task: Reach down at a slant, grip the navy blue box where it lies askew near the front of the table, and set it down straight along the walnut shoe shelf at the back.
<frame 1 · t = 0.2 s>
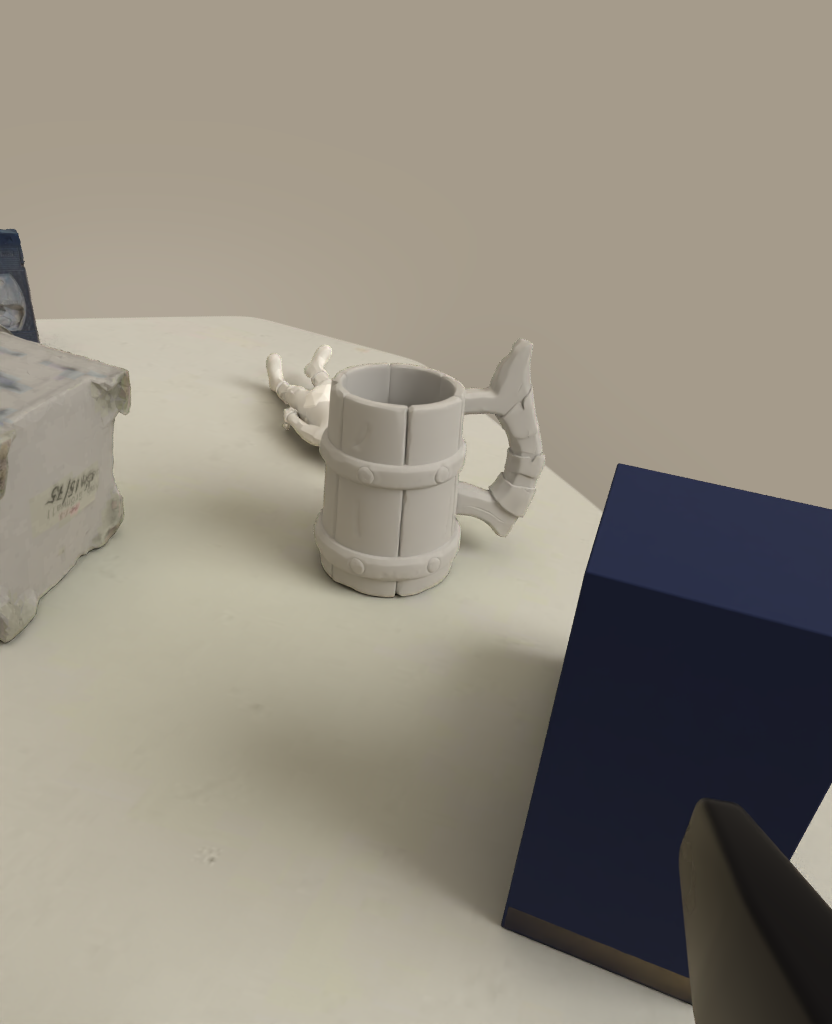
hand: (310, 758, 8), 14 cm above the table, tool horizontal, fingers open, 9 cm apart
figurine: (327, 432, 53), on the table
mug: (422, 559, 39), on the table
navy blue box: (624, 795, 26), on the table
incense holder: (24, 575, 35), on the table
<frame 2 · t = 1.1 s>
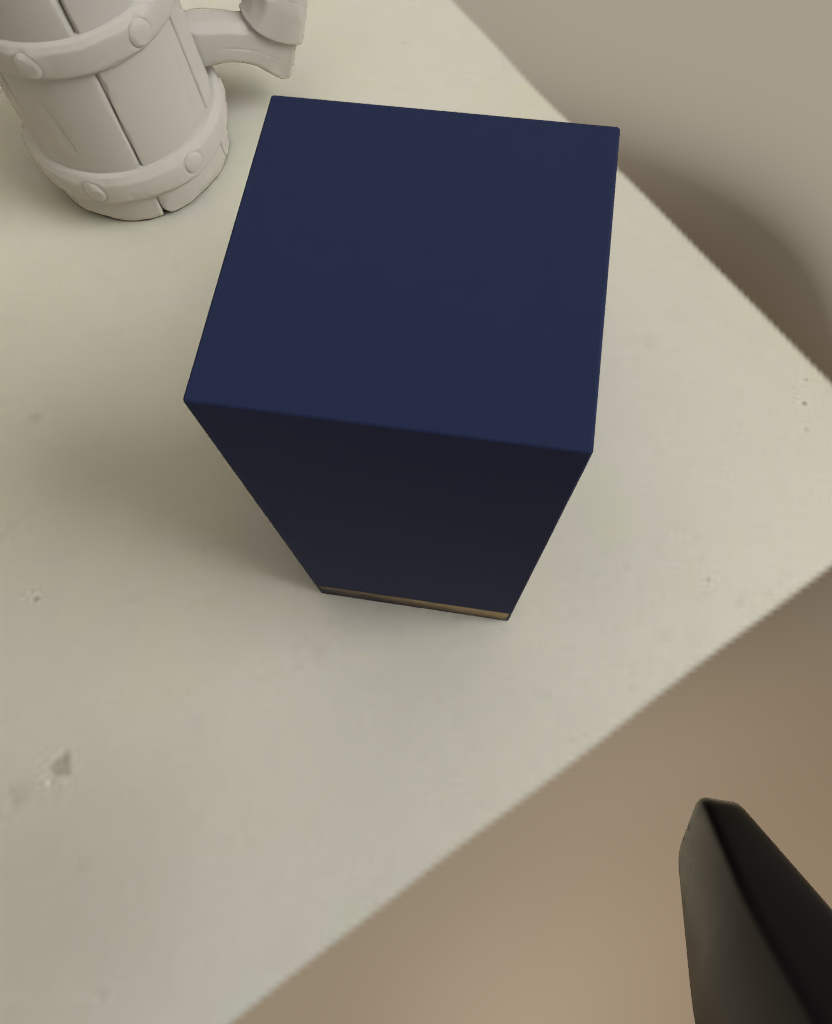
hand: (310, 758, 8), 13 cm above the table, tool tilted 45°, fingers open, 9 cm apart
mug: (192, 138, 29), on the table
navy blue box: (443, 422, 25), on the table
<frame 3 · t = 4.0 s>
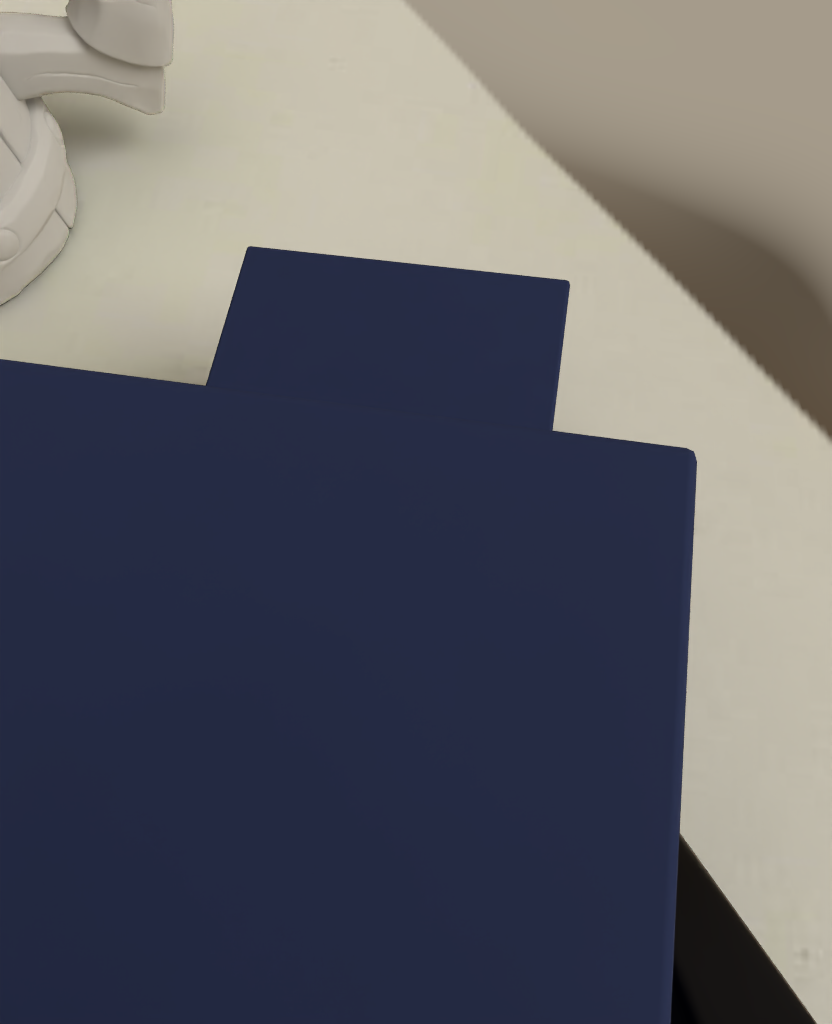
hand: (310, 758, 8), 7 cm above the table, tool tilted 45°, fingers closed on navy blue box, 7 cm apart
mug: (28, 198, 20), on the table
navy blue box: (368, 656, 16), on the table, touching gripper
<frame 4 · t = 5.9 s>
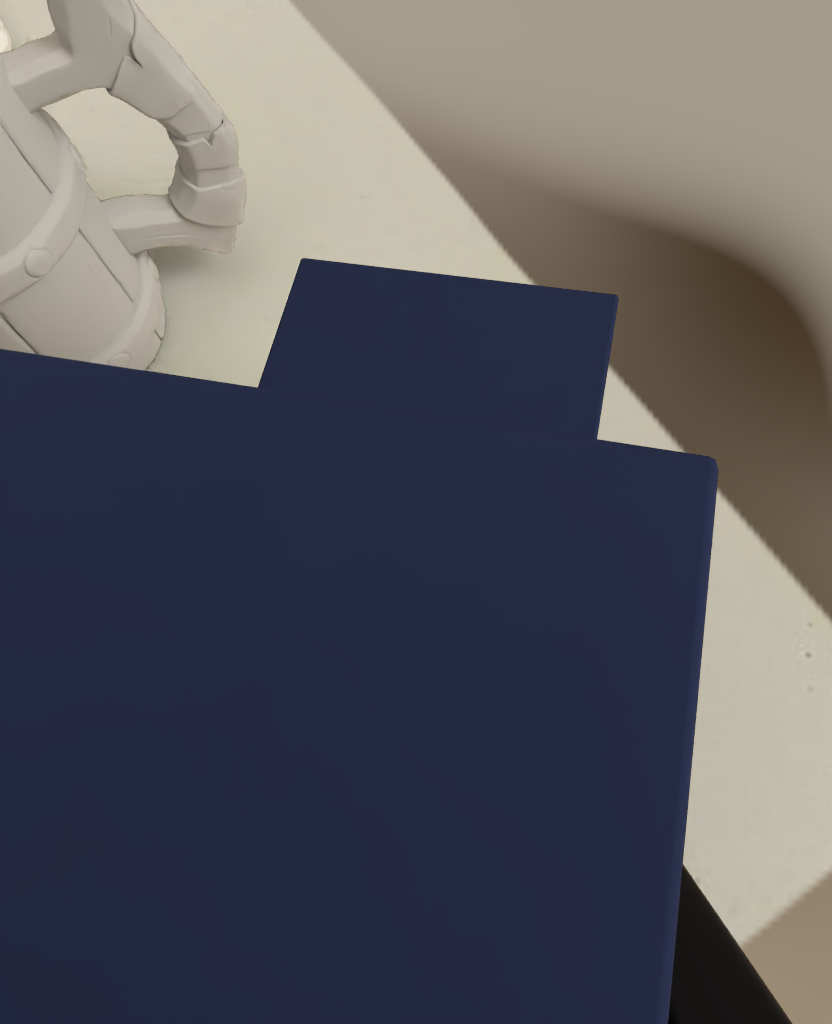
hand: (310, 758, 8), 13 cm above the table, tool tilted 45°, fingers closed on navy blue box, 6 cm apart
mug: (126, 312, 26), on the table
navy blue box: (406, 664, 16), point 6 cm above the table, touching gripper
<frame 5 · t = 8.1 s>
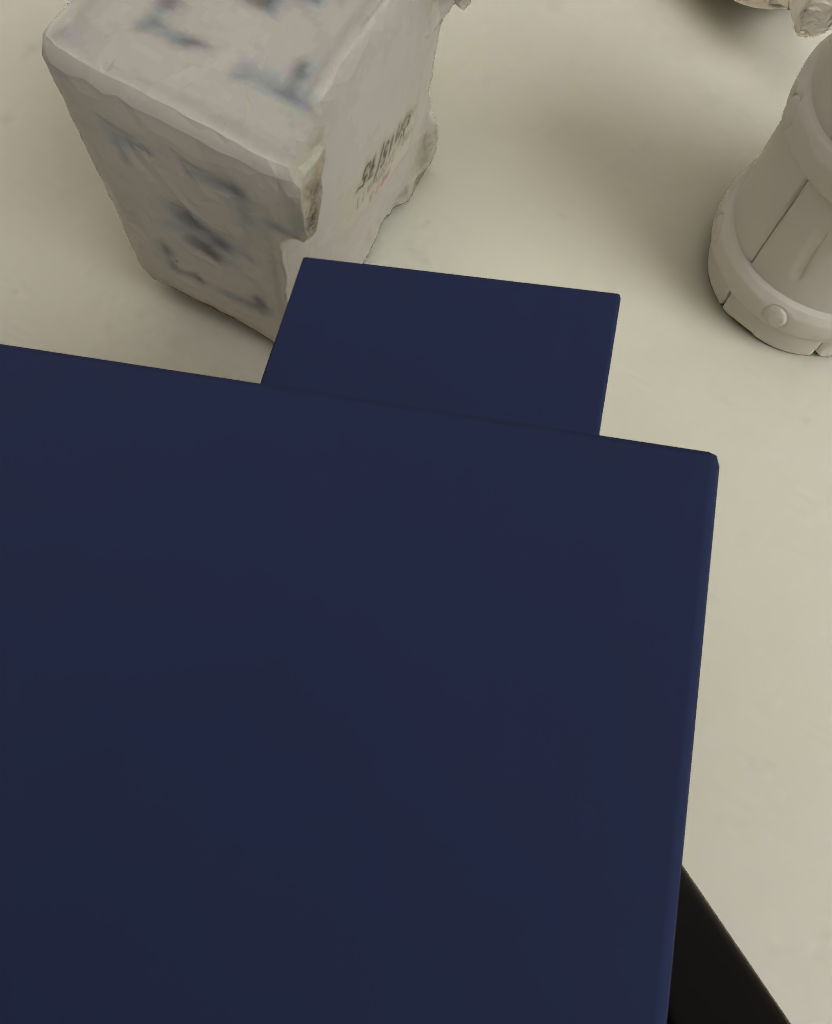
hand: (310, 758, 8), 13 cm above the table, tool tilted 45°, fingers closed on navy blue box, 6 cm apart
navy blue box: (407, 663, 16), point 6 cm above the table, touching gripper
incense holder: (318, 242, 27), on the table
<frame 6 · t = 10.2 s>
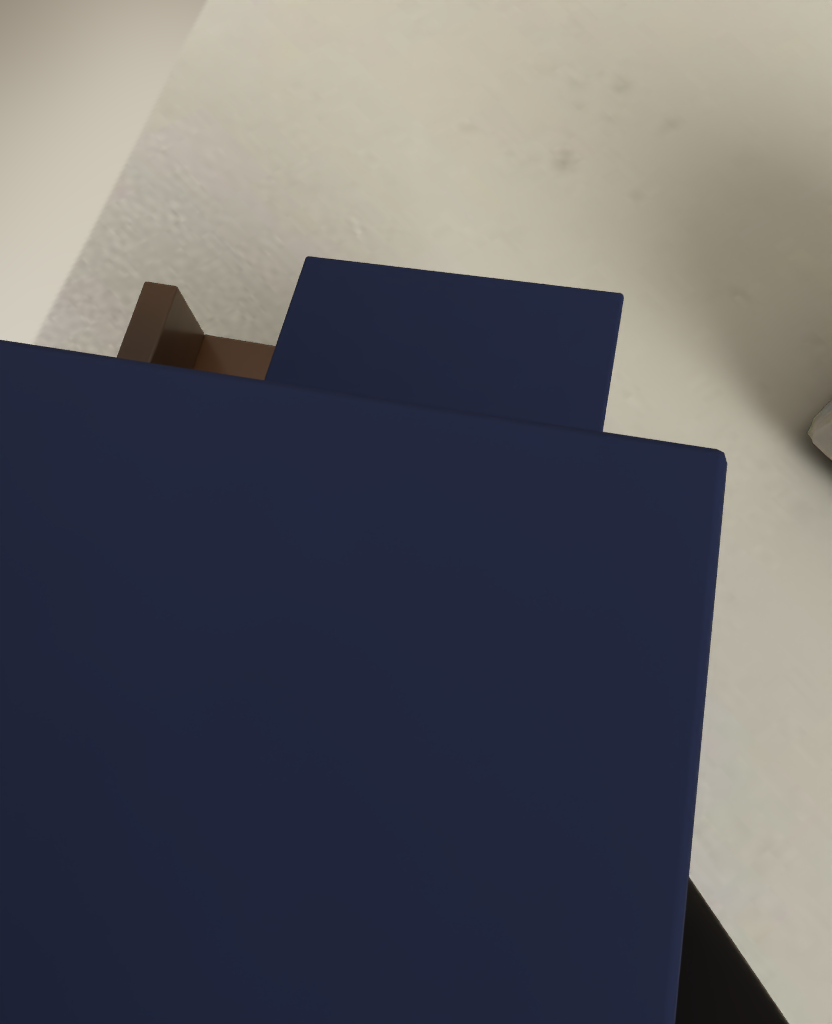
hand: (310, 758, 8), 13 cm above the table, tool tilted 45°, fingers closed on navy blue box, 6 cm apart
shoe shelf: (282, 622, 23), on the table
navy blue box: (409, 663, 16), point 6 cm above the table, touching gripper
when the fingers open (10 cm above the table, at t = 12.2 s): navy blue box stays where it is, resting on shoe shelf.
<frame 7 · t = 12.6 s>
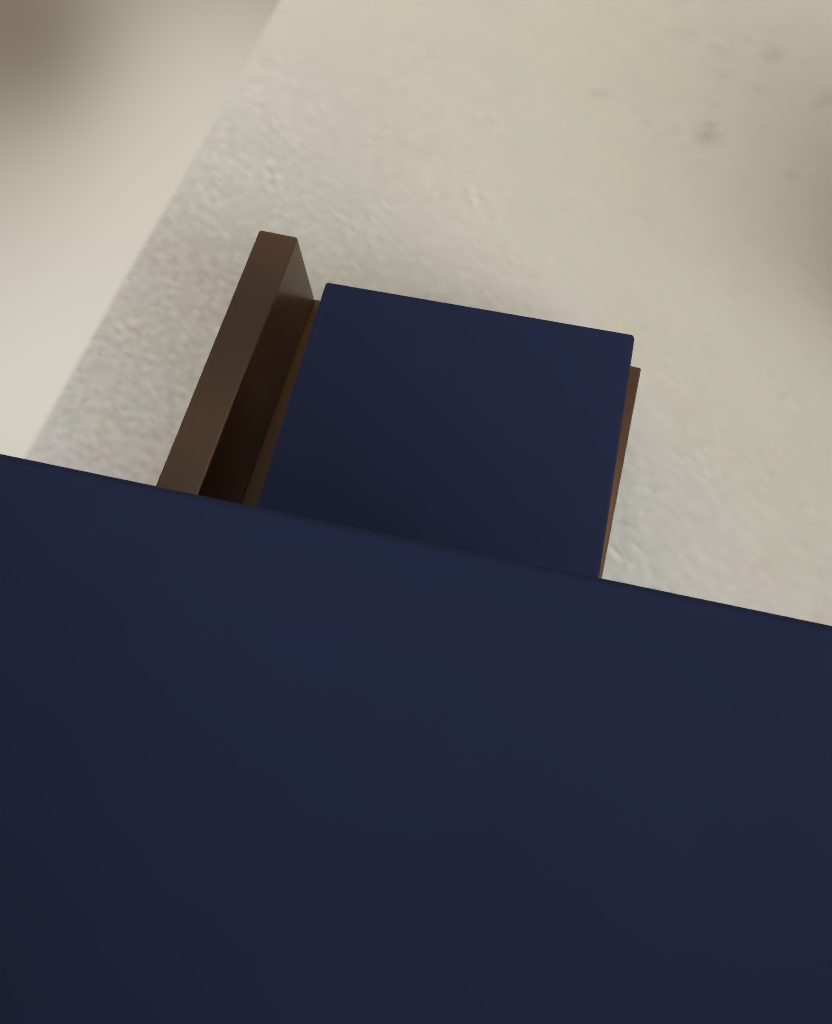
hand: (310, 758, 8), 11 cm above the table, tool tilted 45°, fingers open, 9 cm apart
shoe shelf: (383, 633, 20), on the table
navy blue box: (411, 674, 16), point 3 cm above the table, touching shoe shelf
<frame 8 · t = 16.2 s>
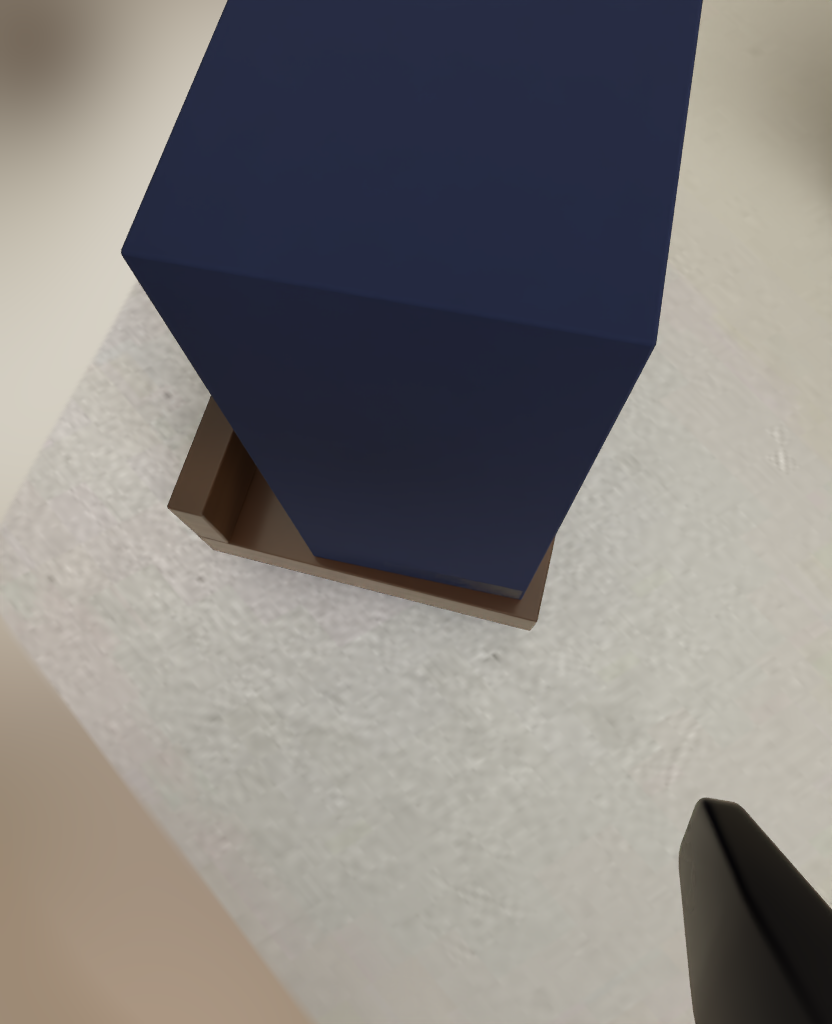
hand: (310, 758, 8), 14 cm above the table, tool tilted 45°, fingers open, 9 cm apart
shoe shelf: (433, 384, 25), on the table
navy blue box: (461, 377, 22), point 3 cm above the table, touching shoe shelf
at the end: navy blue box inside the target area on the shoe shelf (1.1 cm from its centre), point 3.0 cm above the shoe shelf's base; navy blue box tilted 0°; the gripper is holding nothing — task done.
